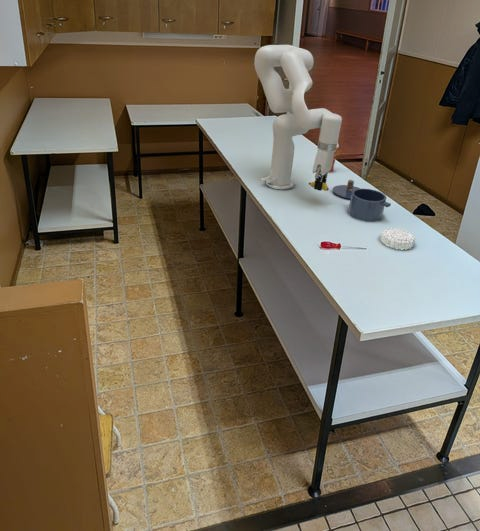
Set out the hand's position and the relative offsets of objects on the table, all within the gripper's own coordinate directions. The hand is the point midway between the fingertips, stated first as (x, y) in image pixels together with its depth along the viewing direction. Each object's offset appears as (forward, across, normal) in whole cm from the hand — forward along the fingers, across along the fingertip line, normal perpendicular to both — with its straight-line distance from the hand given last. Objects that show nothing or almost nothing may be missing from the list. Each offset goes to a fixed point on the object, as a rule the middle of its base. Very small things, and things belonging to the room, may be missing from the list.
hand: (319, 187), depth 208 cm
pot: (+6, -2, +21) cm, 22 cm away
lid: (+6, -19, +8) cm, 22 cm away
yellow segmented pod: (0, 0, 0) cm, 0 cm away
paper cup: (+8, -42, -12) cm, 44 cm away
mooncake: (+6, +15, +38) cm, 42 cm away
